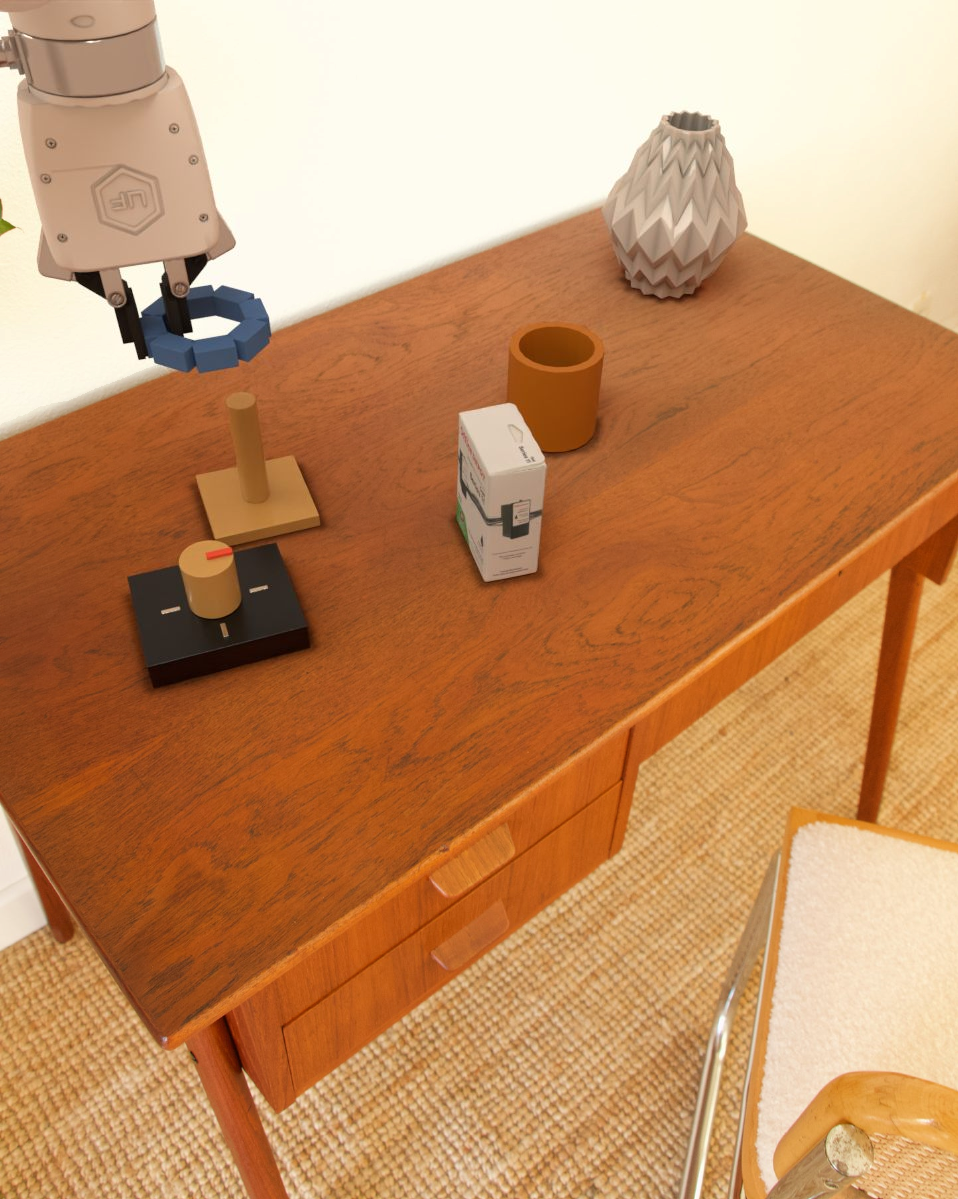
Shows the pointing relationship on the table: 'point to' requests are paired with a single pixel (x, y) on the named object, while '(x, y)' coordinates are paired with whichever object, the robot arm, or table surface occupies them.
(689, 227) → the vase
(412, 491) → the table surface
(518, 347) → the mug
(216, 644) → the black dial base plate
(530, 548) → the ink box
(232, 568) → the rotary dial knob
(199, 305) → the segmented ring
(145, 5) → the robot arm
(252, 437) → the wooden peg stand
